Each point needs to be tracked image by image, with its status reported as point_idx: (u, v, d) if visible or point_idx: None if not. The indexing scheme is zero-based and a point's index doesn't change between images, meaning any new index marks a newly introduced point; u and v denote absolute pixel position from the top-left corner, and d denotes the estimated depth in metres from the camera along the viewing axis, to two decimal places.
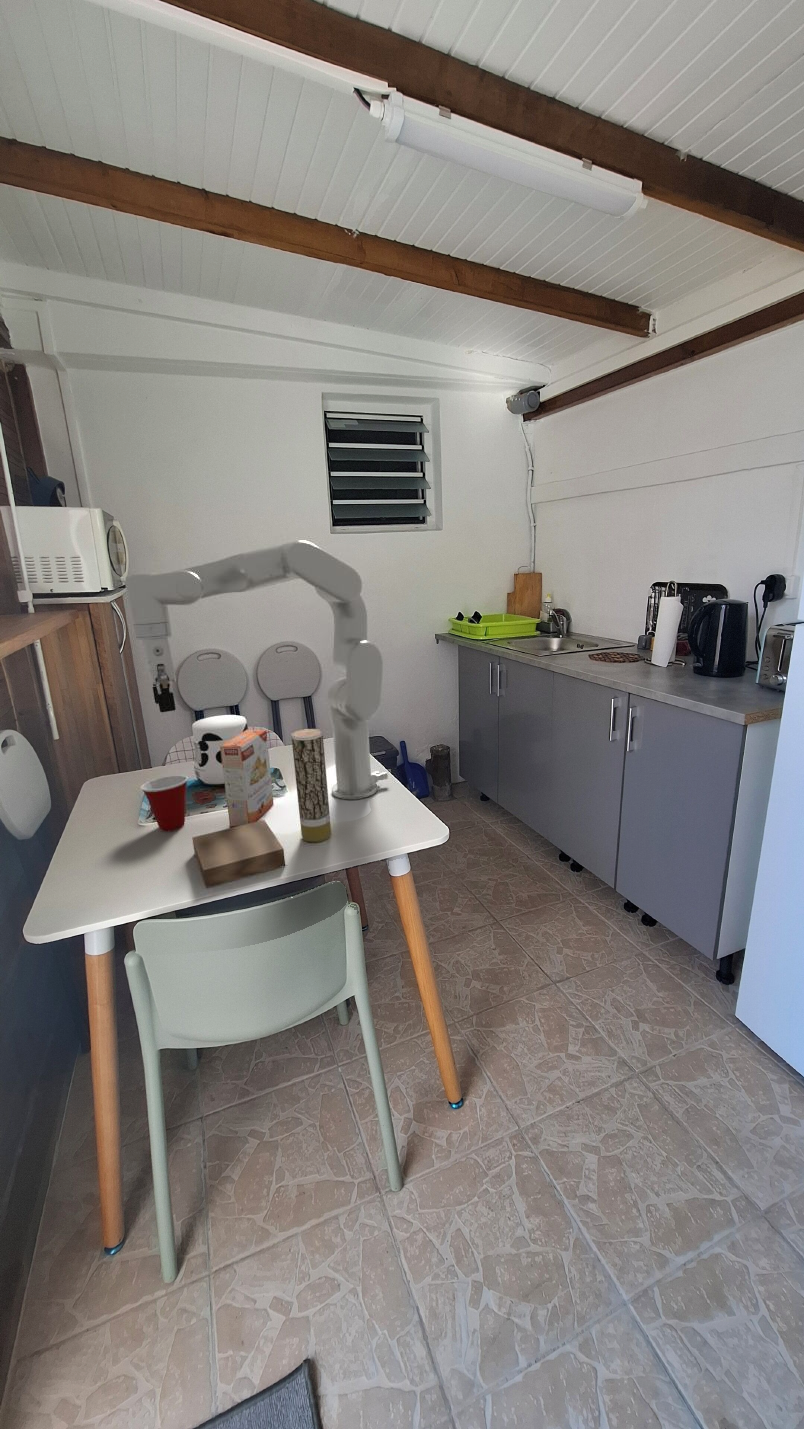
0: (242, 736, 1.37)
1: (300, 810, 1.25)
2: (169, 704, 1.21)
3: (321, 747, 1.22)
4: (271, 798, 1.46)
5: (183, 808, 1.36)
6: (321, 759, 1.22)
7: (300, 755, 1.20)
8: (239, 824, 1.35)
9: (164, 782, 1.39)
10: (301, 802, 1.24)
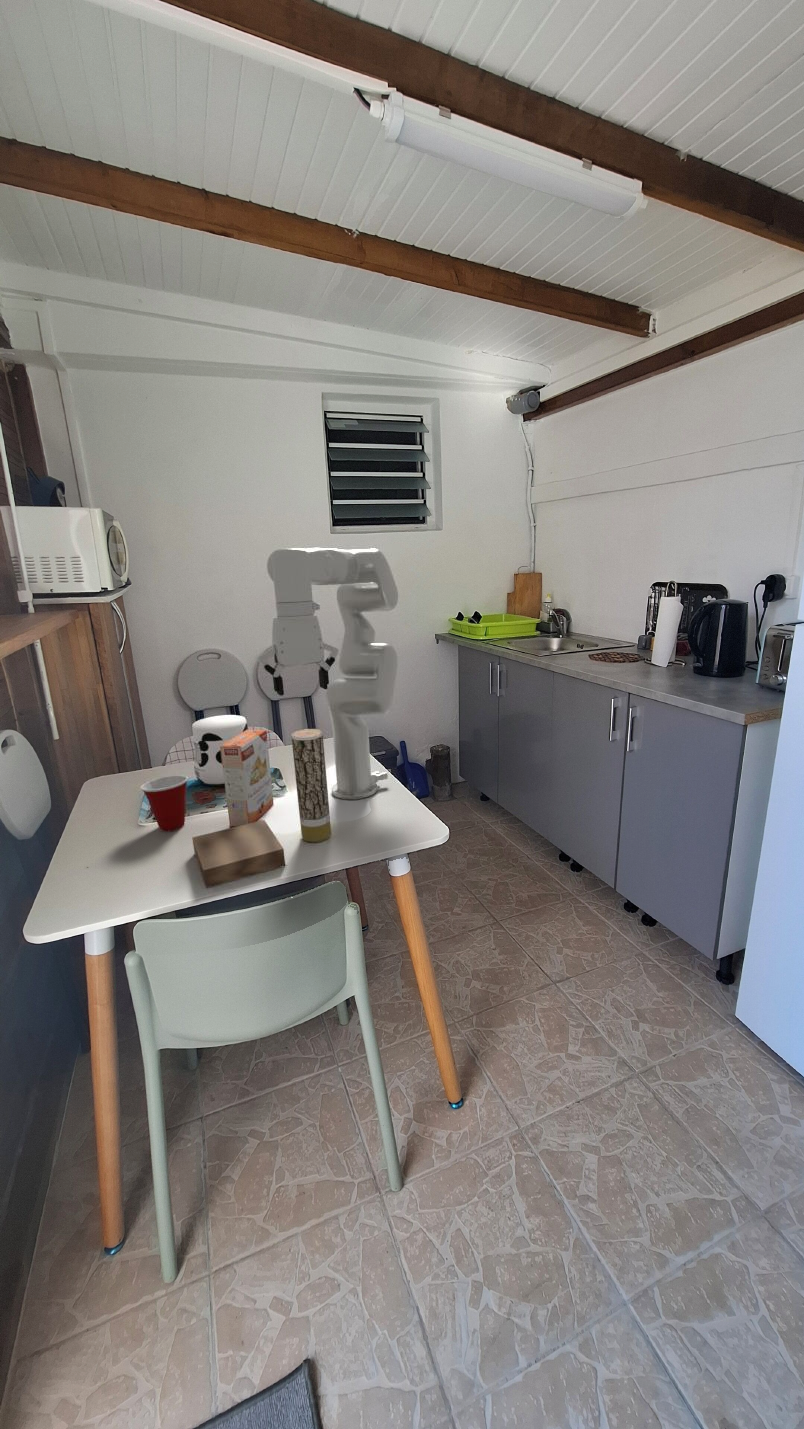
0: (242, 736, 1.37)
1: (300, 810, 1.25)
2: None
3: (321, 747, 1.22)
4: (271, 798, 1.46)
5: (183, 808, 1.36)
6: (321, 759, 1.22)
7: (300, 755, 1.20)
8: (239, 824, 1.35)
9: (164, 782, 1.39)
10: (301, 802, 1.24)
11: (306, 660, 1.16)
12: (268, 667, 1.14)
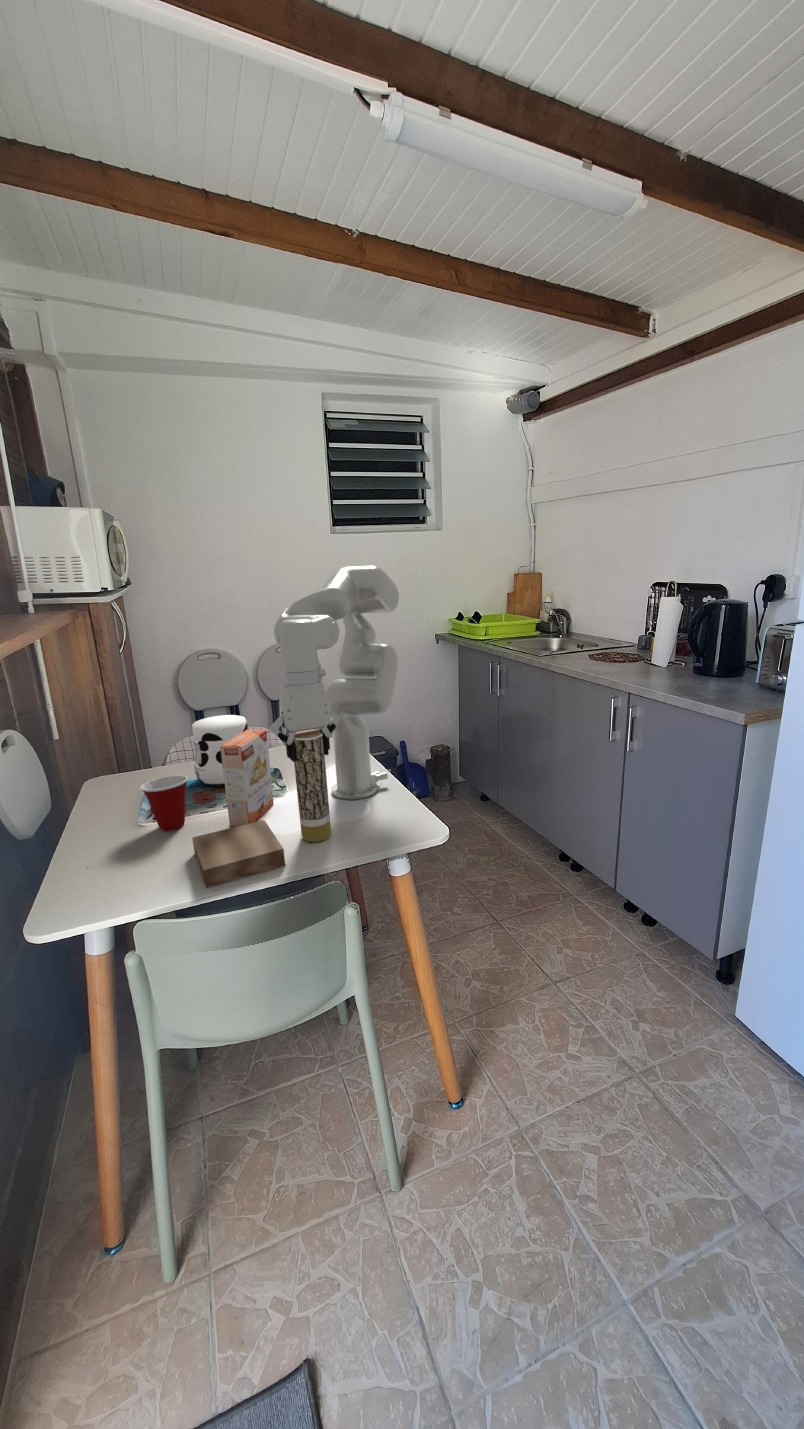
0: (242, 736, 1.37)
1: (300, 810, 1.25)
2: None
3: (321, 747, 1.22)
4: (271, 798, 1.46)
5: (183, 808, 1.36)
6: (321, 759, 1.22)
7: (300, 755, 1.20)
8: (239, 824, 1.35)
9: (164, 782, 1.39)
10: (301, 802, 1.24)
11: (312, 725, 1.20)
12: (281, 735, 1.19)
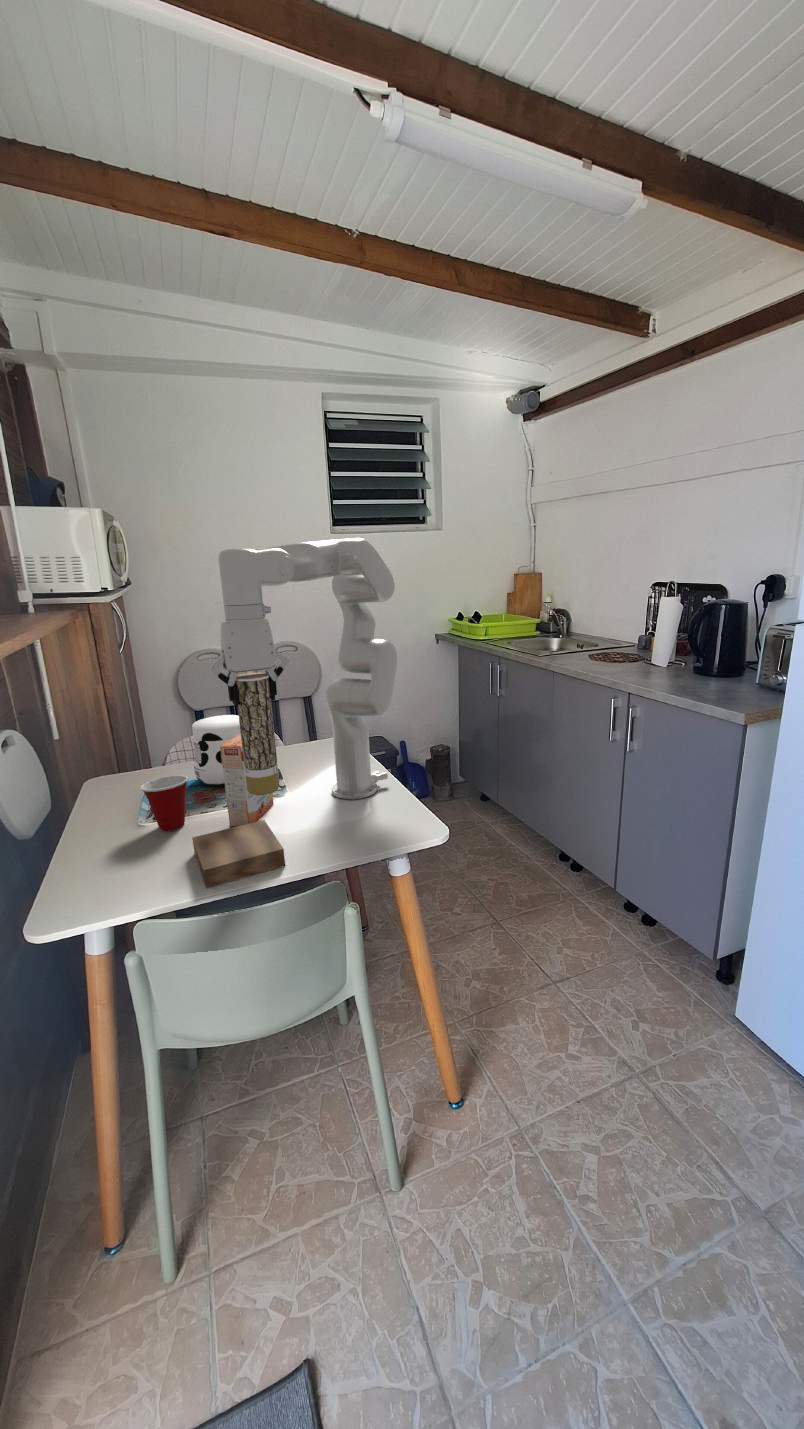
0: None
1: (244, 760, 1.15)
2: None
3: (266, 690, 1.13)
4: (271, 798, 1.46)
5: (183, 808, 1.36)
6: (267, 703, 1.13)
7: (243, 698, 1.11)
8: (239, 824, 1.35)
9: (164, 782, 1.39)
10: (245, 751, 1.14)
11: (256, 666, 1.11)
12: (222, 676, 1.09)
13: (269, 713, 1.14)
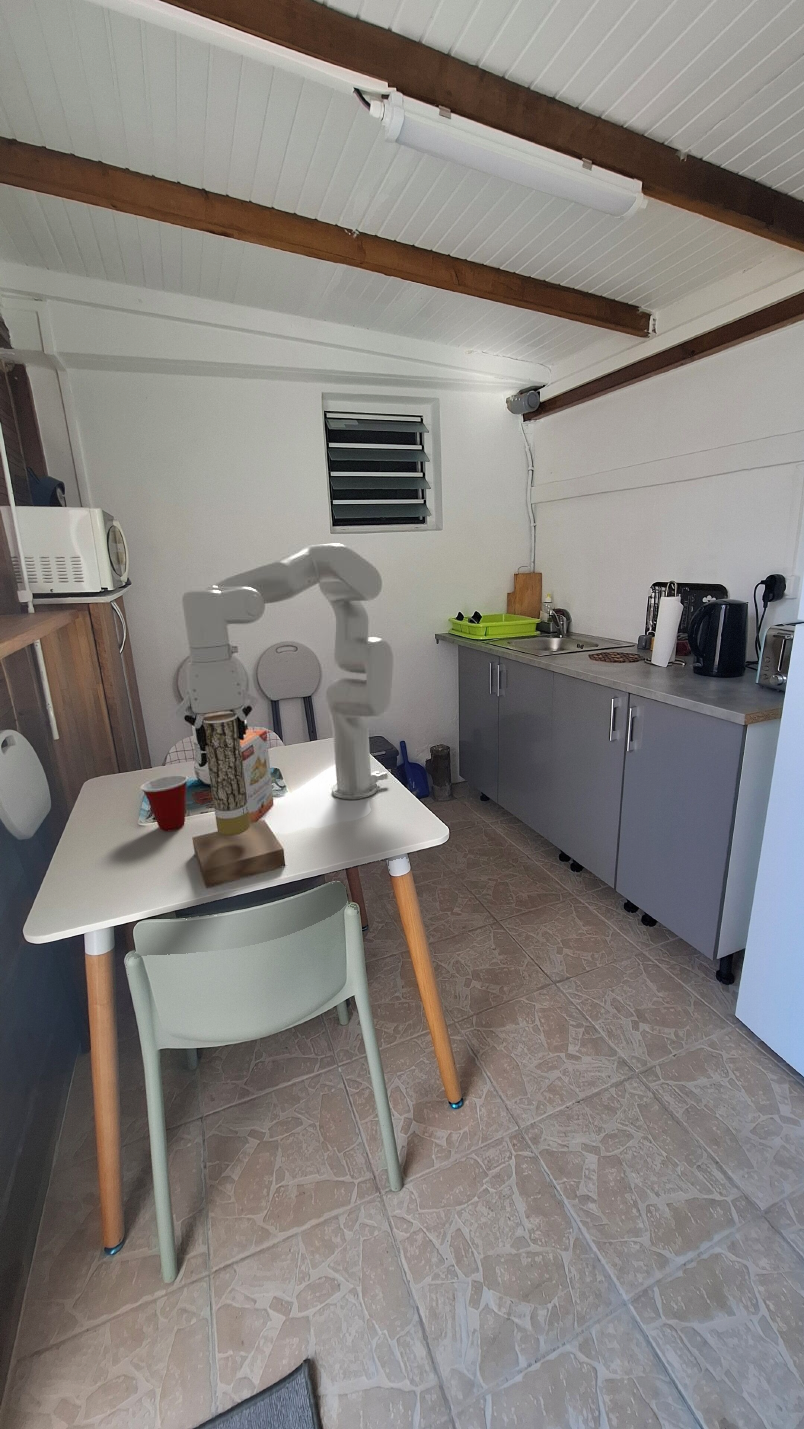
0: None
1: (213, 800, 1.14)
2: None
3: (234, 731, 1.11)
4: (271, 798, 1.46)
5: (183, 808, 1.36)
6: (234, 744, 1.11)
7: (210, 739, 1.10)
8: None
9: (164, 782, 1.39)
10: (214, 791, 1.13)
11: (223, 707, 1.10)
12: (188, 718, 1.08)
13: (237, 754, 1.12)
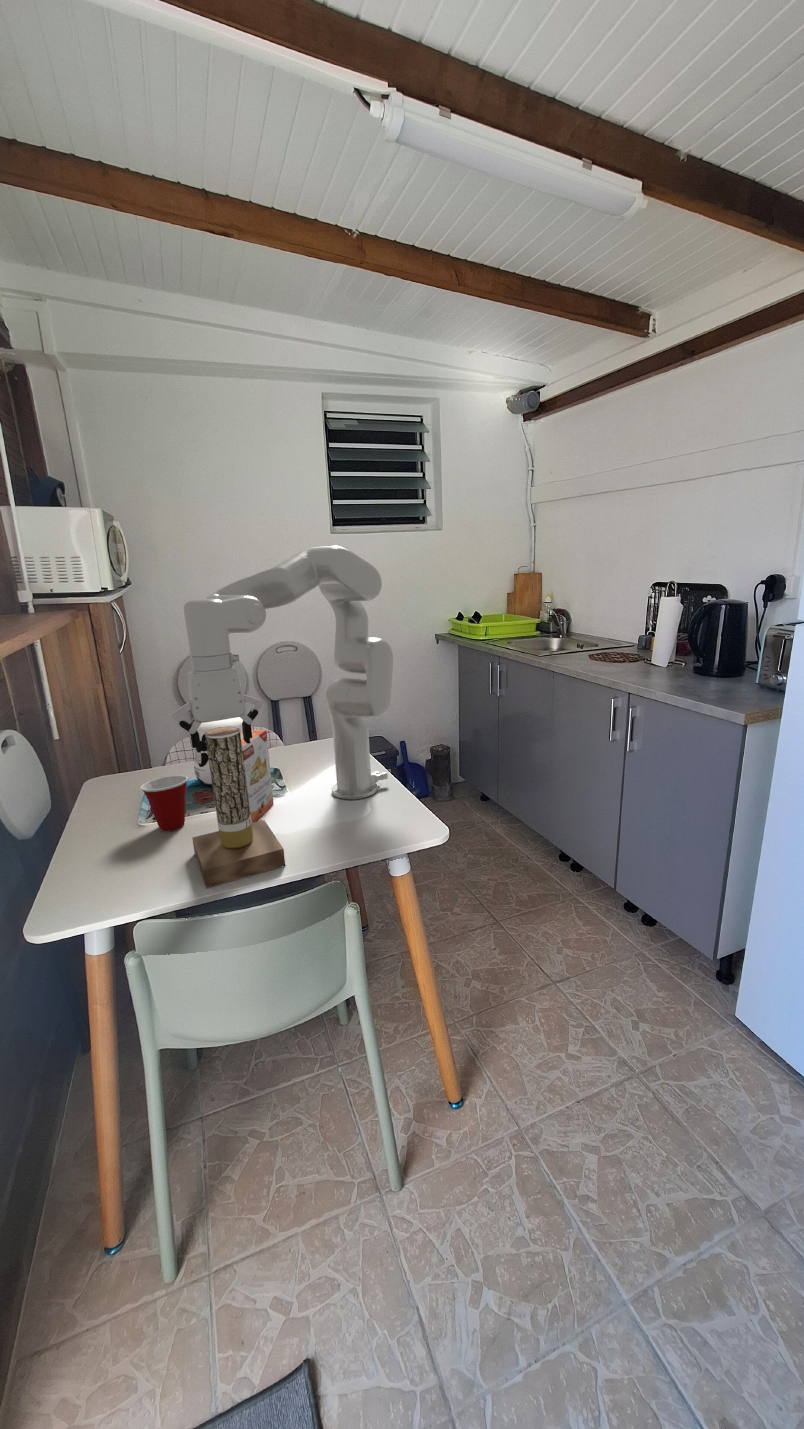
0: (242, 736, 1.37)
1: (217, 814, 1.15)
2: None
3: (237, 746, 1.12)
4: (271, 798, 1.46)
5: (183, 808, 1.36)
6: (237, 759, 1.12)
7: (213, 754, 1.11)
8: None
9: (164, 782, 1.39)
10: (217, 805, 1.14)
11: (225, 715, 1.10)
12: (183, 724, 1.08)
13: (240, 768, 1.13)
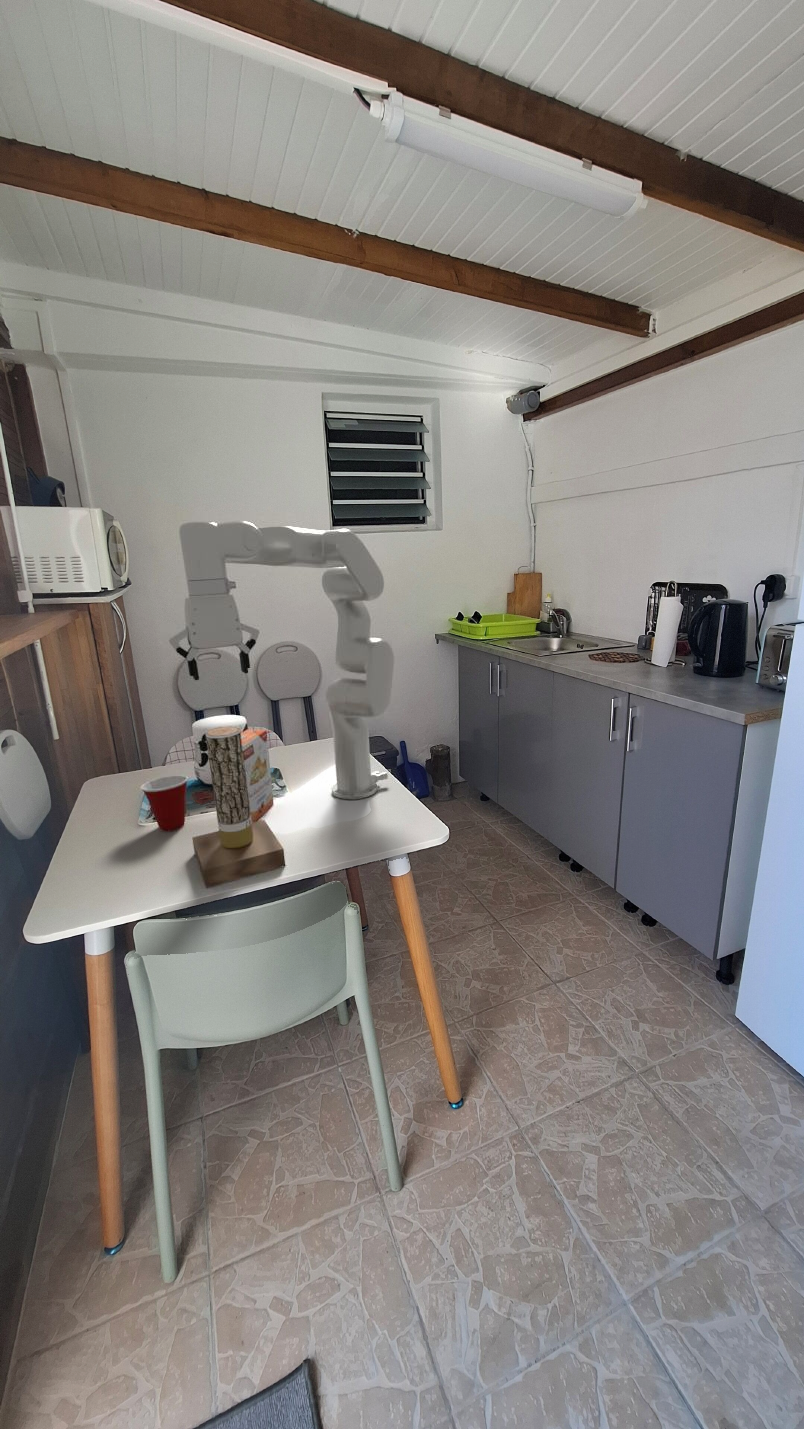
0: (242, 736, 1.37)
1: (217, 814, 1.15)
2: None
3: (238, 746, 1.12)
4: (271, 798, 1.46)
5: (183, 808, 1.36)
6: (238, 759, 1.12)
7: (213, 754, 1.11)
8: None
9: (164, 782, 1.39)
10: (217, 805, 1.14)
11: (222, 642, 1.09)
12: (180, 650, 1.07)
13: (241, 768, 1.13)
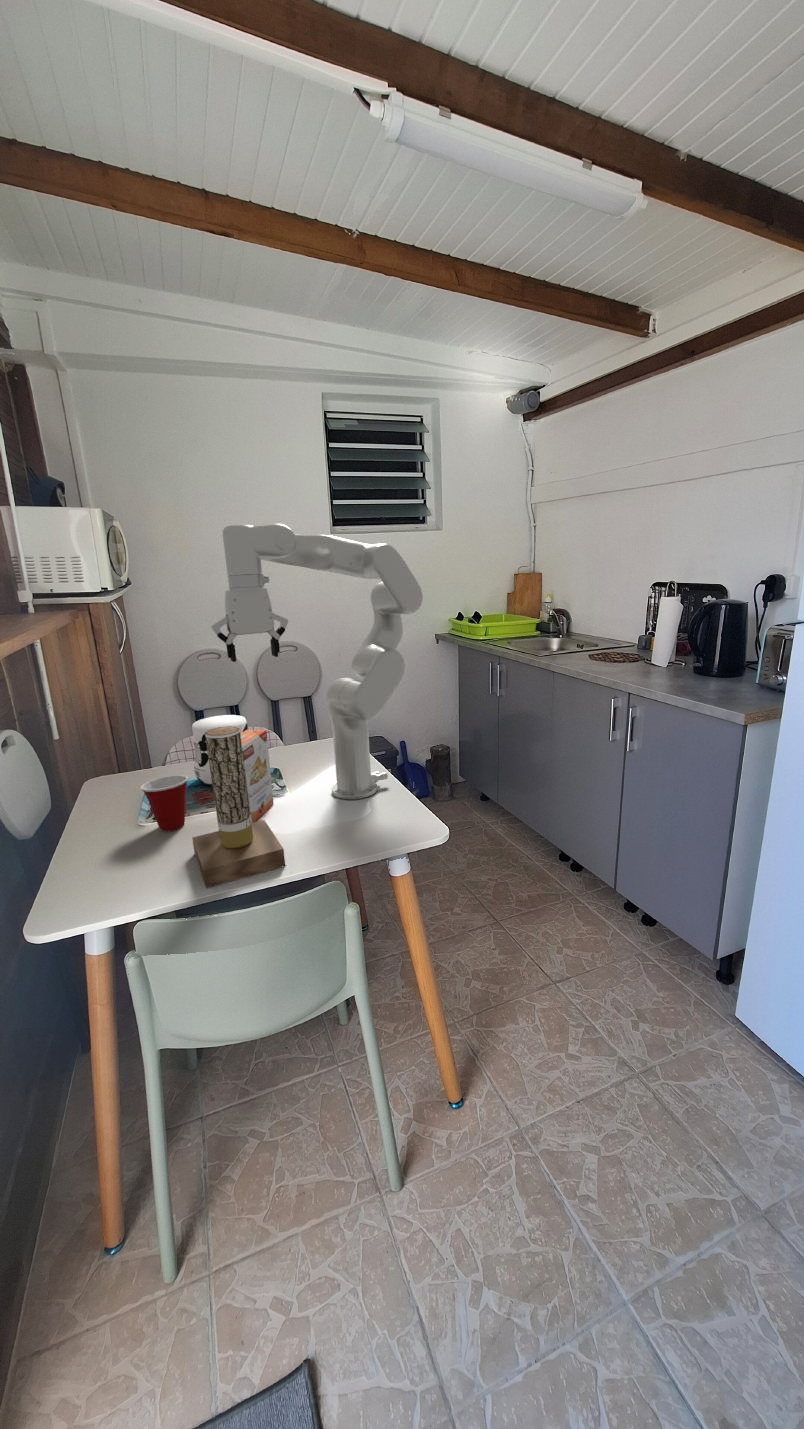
0: (242, 736, 1.37)
1: (217, 814, 1.15)
2: None
3: (237, 745, 1.12)
4: (271, 798, 1.46)
5: (183, 808, 1.36)
6: (238, 759, 1.13)
7: (213, 754, 1.11)
8: None
9: (164, 782, 1.39)
10: (217, 805, 1.14)
11: (257, 629, 1.26)
12: (221, 635, 1.24)
13: (240, 768, 1.14)
